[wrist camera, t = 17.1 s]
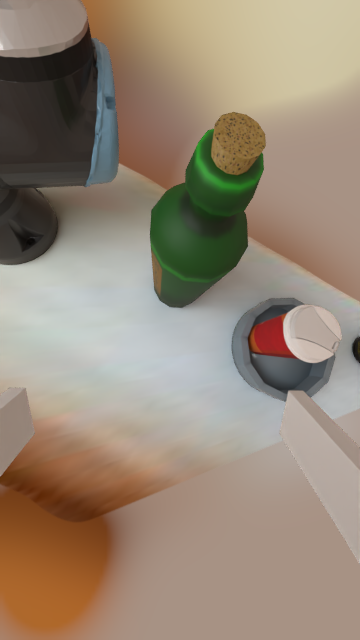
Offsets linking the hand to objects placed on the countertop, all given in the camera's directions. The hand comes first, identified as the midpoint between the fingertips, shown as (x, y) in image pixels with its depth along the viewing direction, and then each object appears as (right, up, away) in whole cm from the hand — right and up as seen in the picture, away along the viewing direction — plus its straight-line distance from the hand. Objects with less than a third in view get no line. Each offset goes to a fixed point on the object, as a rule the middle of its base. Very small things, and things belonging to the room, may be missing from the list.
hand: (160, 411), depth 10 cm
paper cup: (+16, +1, +29) cm, 33 cm away
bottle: (0, +11, +29) cm, 31 cm away
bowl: (+20, -1, +30) cm, 36 cm away
